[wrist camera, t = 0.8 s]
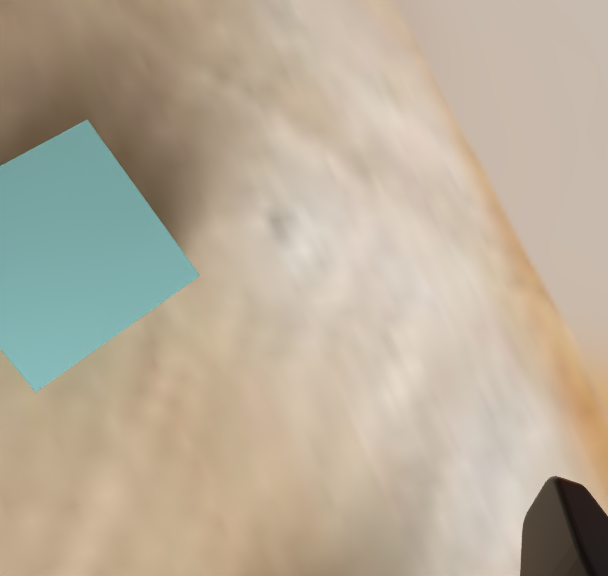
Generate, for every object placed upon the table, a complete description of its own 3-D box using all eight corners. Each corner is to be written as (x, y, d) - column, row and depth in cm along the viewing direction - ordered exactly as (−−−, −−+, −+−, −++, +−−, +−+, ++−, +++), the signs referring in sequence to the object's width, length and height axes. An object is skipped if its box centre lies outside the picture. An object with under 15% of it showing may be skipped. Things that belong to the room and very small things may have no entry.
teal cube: (44, 379, 22) (35, 392, 16) (-58, 252, 21) (-103, 221, 15) (170, 290, 24) (200, 275, 19) (83, 171, 23) (87, 119, 18)
